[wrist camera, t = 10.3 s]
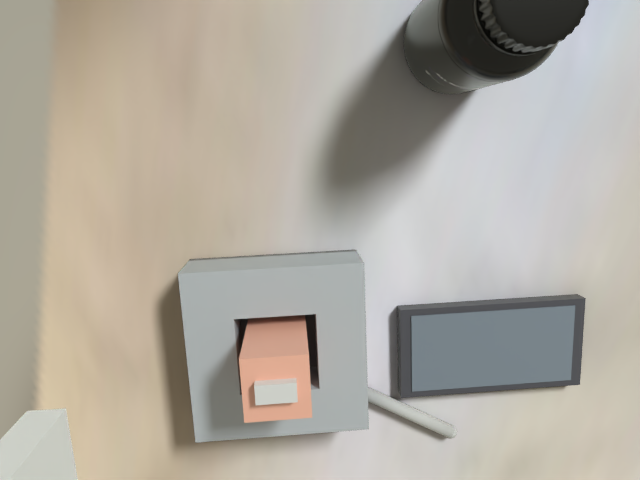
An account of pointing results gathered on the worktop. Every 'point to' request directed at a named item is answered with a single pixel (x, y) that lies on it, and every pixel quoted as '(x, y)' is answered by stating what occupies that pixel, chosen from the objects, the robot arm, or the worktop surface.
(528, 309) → the phone
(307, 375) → the block
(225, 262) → the outlet plate
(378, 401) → the cable
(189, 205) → the worktop surface
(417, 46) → the supplement bottle
